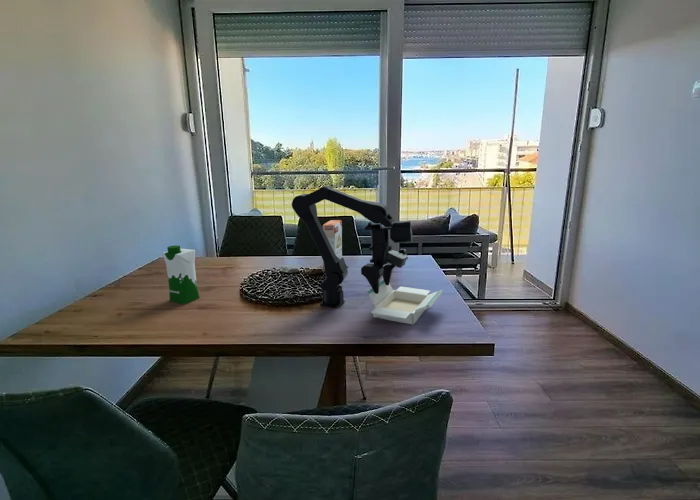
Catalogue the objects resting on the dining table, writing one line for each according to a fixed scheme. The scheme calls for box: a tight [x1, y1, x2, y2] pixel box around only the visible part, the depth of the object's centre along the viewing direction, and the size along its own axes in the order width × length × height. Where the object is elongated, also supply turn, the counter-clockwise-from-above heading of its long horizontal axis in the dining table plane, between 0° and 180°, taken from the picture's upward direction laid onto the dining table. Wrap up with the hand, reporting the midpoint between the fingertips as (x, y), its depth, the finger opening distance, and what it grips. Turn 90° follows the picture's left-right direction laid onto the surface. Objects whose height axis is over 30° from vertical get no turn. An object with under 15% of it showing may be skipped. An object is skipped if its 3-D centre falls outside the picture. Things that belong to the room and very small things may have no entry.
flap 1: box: [366, 278, 394, 306], centre depth 130 cm, size 1×15×5 cm, turn 154°
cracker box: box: [322, 219, 343, 270], centre depth 177 cm, size 14×6×21 cm, turn 168°
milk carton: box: [162, 245, 200, 305], centre depth 139 cm, size 9×9×20 cm
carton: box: [370, 286, 431, 325], centre depth 128 cm, size 13×26×4 cm, turn 153°
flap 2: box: [415, 289, 444, 312], centre depth 123 cm, size 1×15×5 cm
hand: (382, 289), depth 130 cm, fingers open, 9 cm apart
